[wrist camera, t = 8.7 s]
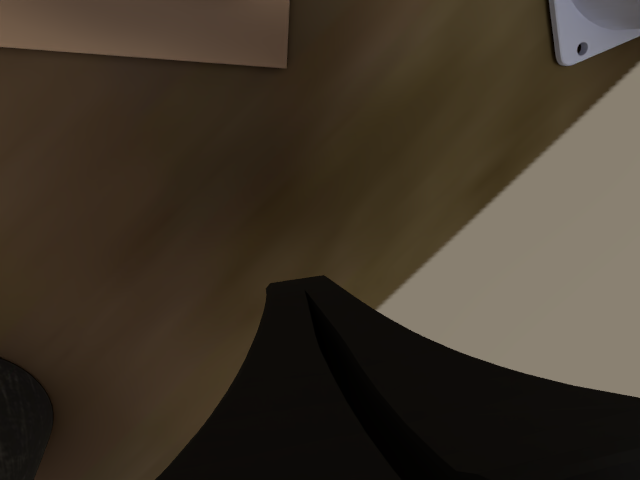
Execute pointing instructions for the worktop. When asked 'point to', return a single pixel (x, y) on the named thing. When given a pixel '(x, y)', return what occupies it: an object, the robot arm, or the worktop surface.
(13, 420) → the travel mug
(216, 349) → the worktop surface
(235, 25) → the knob backing plate
